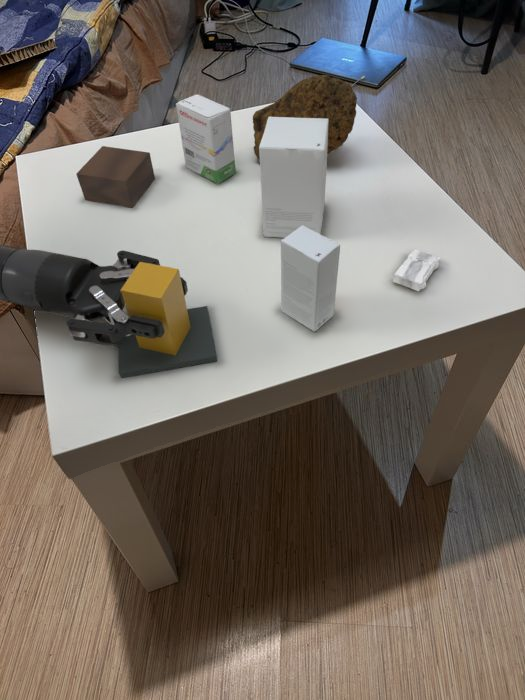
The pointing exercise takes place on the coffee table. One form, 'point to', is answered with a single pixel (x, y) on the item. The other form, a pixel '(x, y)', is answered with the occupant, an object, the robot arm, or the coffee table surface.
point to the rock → (313, 108)
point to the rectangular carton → (293, 174)
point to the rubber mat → (190, 353)
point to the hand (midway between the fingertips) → (174, 308)
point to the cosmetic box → (309, 277)
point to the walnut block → (116, 176)
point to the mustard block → (158, 304)
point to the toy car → (416, 270)
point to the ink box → (206, 137)
